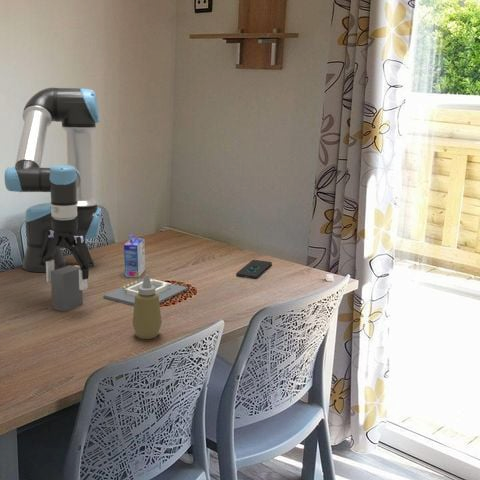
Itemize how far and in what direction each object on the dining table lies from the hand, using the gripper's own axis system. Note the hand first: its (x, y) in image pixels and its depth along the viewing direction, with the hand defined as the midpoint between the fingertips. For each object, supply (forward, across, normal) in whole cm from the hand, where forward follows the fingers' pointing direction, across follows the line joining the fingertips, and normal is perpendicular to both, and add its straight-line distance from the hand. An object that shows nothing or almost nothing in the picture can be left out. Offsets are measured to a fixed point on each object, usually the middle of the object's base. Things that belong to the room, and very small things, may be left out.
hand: (66, 284), depth 197 cm
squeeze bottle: (+8, +34, -4) cm, 35 cm away
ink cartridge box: (+7, -4, +38) cm, 39 cm away
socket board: (+7, +13, +23) cm, 27 cm away
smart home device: (+8, +30, +67) cm, 74 cm away
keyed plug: (+7, 0, 0) cm, 7 cm away
